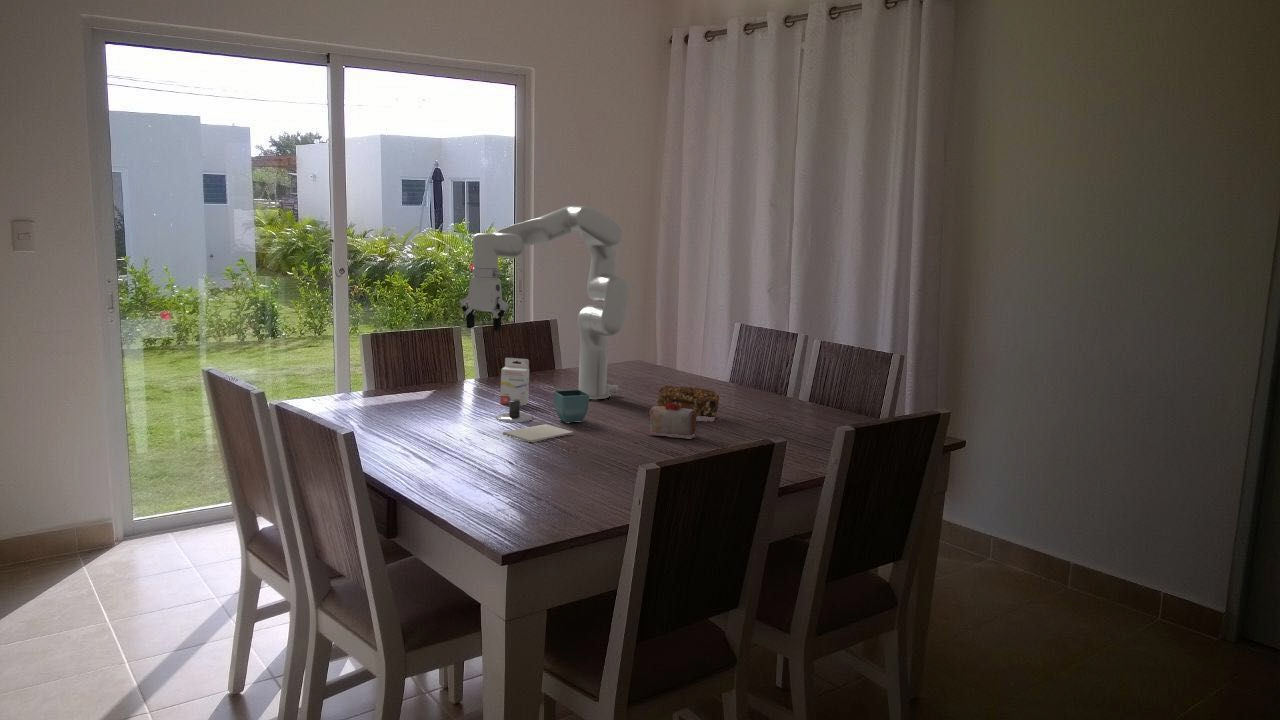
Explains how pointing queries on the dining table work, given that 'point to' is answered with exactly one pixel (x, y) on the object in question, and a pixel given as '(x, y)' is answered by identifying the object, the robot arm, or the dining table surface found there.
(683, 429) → the food item
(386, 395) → the dining table surface
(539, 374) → the dining table surface
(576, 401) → the flower pot
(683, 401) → the bread
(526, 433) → the linen napkin
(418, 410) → the dining table surface
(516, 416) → the lid
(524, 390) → the ink cartridge box
